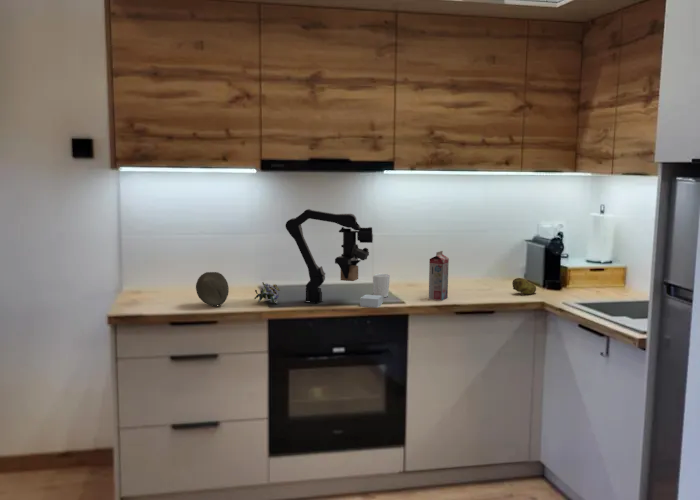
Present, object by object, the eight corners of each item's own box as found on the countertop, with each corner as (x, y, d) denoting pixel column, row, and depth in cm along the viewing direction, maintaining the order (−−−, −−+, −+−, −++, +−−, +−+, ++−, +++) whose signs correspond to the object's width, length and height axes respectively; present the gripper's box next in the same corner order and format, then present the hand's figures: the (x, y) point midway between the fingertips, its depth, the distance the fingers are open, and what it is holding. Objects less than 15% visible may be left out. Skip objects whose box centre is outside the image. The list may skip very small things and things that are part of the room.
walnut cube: (340, 280, 293) (340, 266, 292) (345, 278, 298) (345, 264, 297) (353, 281, 290) (353, 267, 289) (358, 279, 296) (358, 265, 295)
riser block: (360, 307, 289) (360, 298, 288) (365, 303, 296) (365, 294, 296) (377, 308, 286) (377, 299, 286) (382, 304, 294) (382, 295, 293)
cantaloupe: (232, 302, 294) (231, 269, 292) (225, 309, 280) (224, 275, 278) (200, 302, 295) (199, 269, 292) (192, 309, 281) (191, 274, 278)
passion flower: (275, 315, 293) (280, 297, 285) (251, 312, 291) (255, 293, 284) (277, 297, 301) (282, 279, 294) (253, 293, 300) (257, 275, 292)
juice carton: (447, 298, 307) (448, 251, 304) (441, 300, 302) (443, 252, 299) (434, 296, 311) (435, 250, 308) (428, 299, 305) (429, 251, 302)
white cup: (379, 298, 305) (379, 277, 304) (369, 295, 312) (369, 274, 311) (392, 296, 310) (393, 275, 308) (382, 293, 316) (383, 273, 315)
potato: (540, 295, 315) (541, 278, 314) (515, 296, 313) (515, 279, 312) (533, 292, 323) (534, 275, 322) (508, 292, 321) (509, 276, 320)
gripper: (358, 245, 280) (358, 282, 282) (374, 241, 297) (373, 275, 299) (334, 244, 285) (334, 280, 287) (351, 239, 302) (351, 273, 304)
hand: (349, 277), depth 294 cm, fingers closed on walnut cube, 6 cm apart
